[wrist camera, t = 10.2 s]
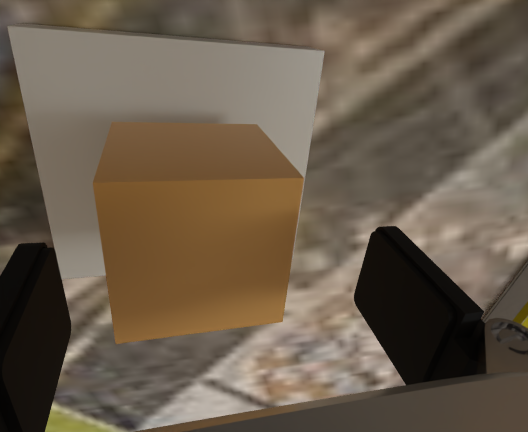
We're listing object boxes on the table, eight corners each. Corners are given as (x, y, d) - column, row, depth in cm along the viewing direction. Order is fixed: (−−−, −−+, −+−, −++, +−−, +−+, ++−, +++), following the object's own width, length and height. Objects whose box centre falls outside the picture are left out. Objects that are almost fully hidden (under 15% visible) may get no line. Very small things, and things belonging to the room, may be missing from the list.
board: (22, 23, 16) (-96, 43, 8) (309, 46, 19) (413, 75, 12) (68, 257, 21) (23, 397, 14) (282, 242, 25) (340, 347, 17)
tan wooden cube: (111, 121, 15) (92, 182, 10) (257, 124, 16) (303, 178, 11) (125, 247, 18) (115, 343, 13) (247, 238, 19) (282, 321, 14)
